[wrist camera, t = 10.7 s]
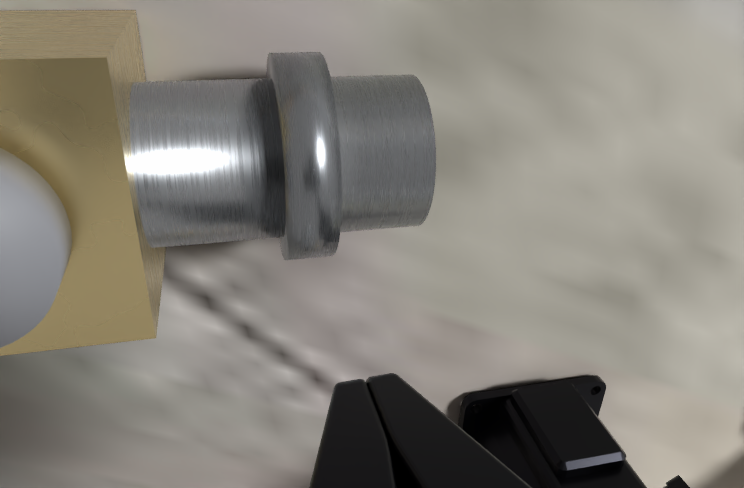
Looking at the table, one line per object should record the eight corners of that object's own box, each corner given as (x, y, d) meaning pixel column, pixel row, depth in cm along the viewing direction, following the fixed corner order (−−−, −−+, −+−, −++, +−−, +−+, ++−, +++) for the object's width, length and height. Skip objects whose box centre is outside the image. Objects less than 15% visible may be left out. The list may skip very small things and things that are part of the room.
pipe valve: (390, 9, 17) (458, 50, 13) (381, 213, 20) (433, 306, 16) (-525, 12, 13) (-936, 76, 8) (-359, 270, 16) (-589, 423, 11)
